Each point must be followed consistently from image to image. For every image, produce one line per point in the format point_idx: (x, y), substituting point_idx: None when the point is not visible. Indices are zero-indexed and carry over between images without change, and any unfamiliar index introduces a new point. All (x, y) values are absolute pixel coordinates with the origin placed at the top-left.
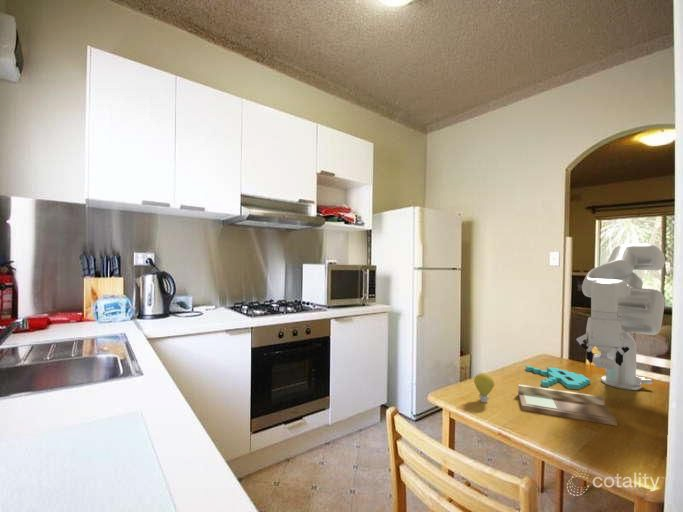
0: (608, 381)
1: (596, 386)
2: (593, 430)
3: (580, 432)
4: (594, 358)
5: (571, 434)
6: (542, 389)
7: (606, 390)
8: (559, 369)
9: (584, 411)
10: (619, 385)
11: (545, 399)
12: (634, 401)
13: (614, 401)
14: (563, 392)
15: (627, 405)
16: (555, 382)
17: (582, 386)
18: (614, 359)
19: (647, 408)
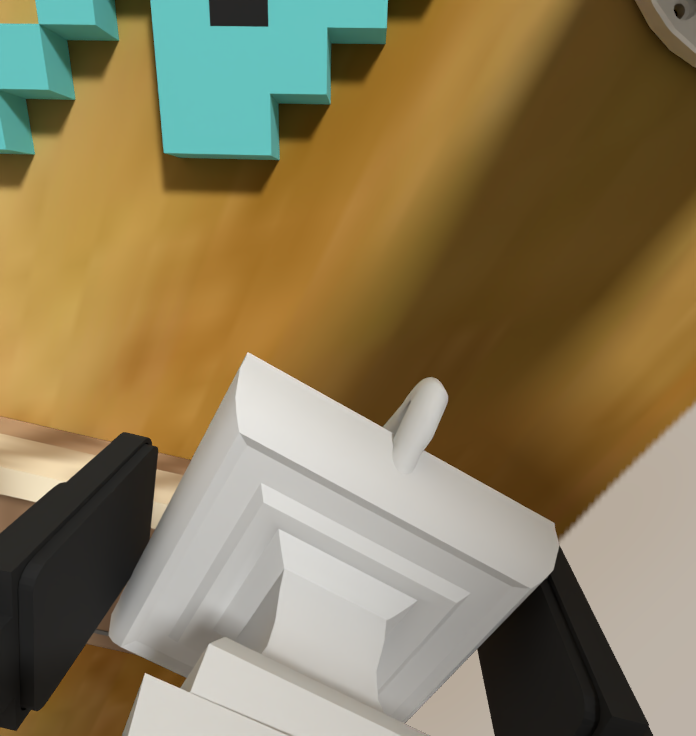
0: None
1: (474, 34)
2: (115, 697)
3: (56, 715)
4: (125, 641)
5: (16, 730)
6: None
7: (504, 134)
8: None
9: (114, 605)
10: (693, 36)
11: None
12: (571, 340)
13: (418, 366)
14: (10, 494)
15: (465, 417)
16: (102, 37)
17: (318, 100)
18: (434, 692)
19: (568, 442)
